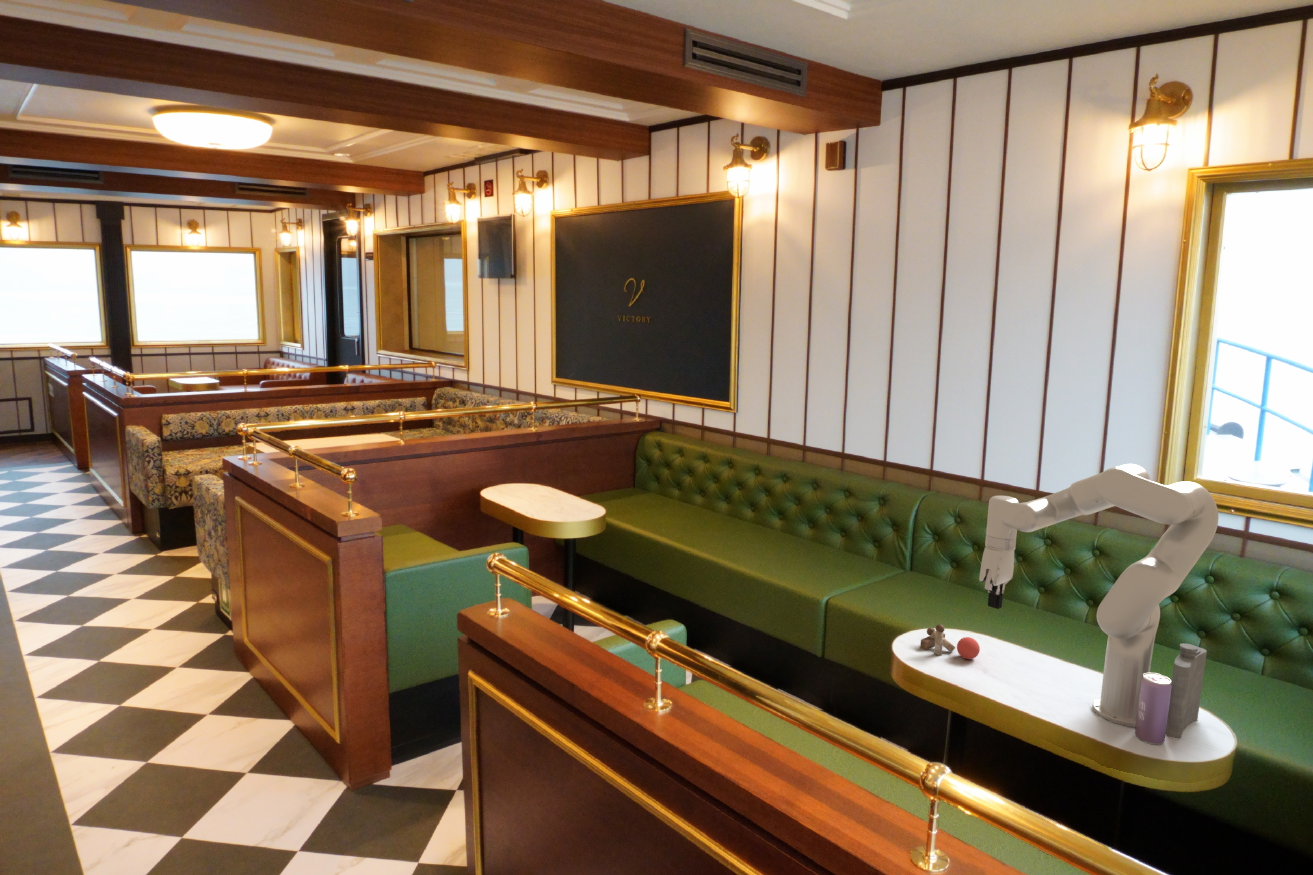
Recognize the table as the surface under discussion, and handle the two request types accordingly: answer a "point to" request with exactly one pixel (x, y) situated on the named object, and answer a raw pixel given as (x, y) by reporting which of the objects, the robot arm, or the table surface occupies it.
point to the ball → (968, 648)
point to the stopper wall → (928, 642)
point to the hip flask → (1185, 689)
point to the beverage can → (1153, 708)
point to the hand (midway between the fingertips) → (994, 606)
